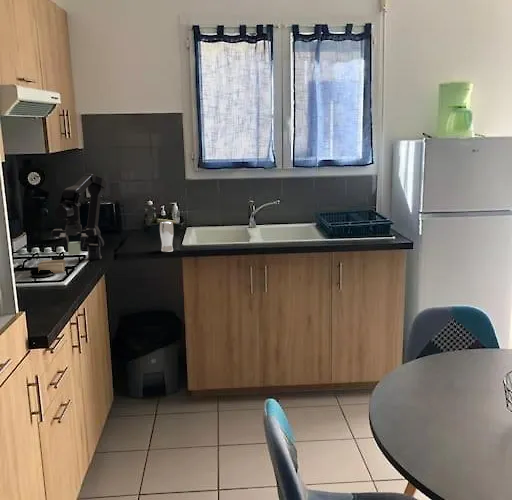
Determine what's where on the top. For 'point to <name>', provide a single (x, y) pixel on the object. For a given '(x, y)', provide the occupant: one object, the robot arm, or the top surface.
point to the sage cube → (74, 248)
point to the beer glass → (166, 236)
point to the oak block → (52, 265)
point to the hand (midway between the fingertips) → (75, 251)
